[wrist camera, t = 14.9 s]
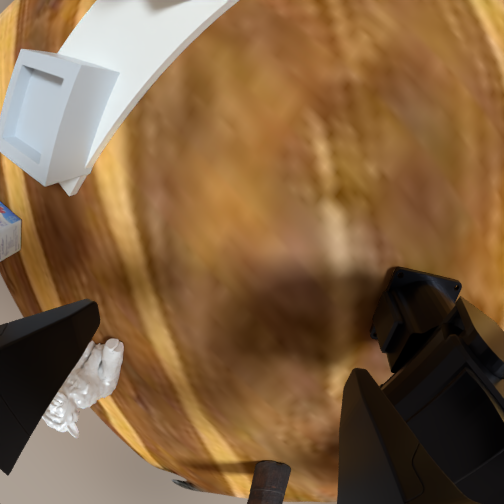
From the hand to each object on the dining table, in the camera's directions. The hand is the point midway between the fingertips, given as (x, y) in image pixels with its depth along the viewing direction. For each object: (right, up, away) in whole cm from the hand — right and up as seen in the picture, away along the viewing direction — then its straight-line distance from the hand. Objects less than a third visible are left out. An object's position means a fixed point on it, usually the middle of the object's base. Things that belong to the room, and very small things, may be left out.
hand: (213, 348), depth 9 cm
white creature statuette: (-17, -10, +22) cm, 29 cm away
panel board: (-8, +21, +7) cm, 24 cm away
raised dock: (-14, +16, +11) cm, 24 cm away
